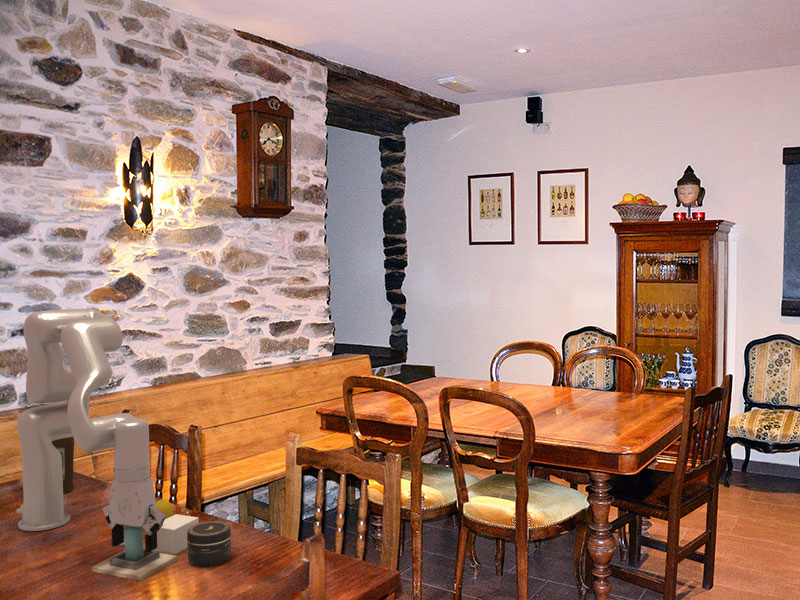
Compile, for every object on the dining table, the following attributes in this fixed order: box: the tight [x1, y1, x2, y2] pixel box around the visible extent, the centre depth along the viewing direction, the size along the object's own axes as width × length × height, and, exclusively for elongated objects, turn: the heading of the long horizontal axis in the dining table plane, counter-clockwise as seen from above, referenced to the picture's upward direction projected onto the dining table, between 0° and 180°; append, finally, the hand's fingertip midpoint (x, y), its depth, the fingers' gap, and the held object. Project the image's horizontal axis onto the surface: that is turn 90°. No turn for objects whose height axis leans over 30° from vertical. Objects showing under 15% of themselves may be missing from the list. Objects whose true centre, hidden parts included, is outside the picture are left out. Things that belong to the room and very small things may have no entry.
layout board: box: [91, 548, 178, 582], centre depth 165 cm, size 14×12×2 cm
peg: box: [124, 525, 145, 562], centre depth 165 cm, size 4×4×8 cm
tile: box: [110, 536, 125, 547], centre depth 179 cm, size 4×4×1 cm
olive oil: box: [52, 436, 75, 495], centre depth 221 cm, size 11×11×25 cm
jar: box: [187, 520, 232, 568], centre depth 168 cm, size 10×10×8 cm
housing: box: [150, 513, 200, 555], centre depth 176 cm, size 7×9×6 cm
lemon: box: [155, 498, 175, 522], centre depth 188 cm, size 6×6×8 cm
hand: (134, 547), depth 165 cm, fingers open, 9 cm apart
